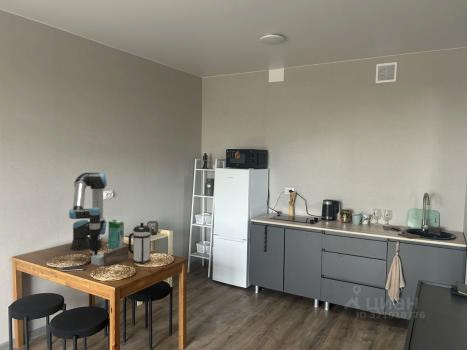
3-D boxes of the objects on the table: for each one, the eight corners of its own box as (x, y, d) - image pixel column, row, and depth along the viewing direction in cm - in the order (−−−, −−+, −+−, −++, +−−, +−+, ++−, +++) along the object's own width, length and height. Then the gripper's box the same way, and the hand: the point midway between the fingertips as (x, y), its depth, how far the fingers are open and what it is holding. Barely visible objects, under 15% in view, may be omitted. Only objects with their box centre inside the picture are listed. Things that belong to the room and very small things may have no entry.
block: (91, 264, 258) (91, 256, 257) (101, 260, 267) (101, 252, 266) (99, 266, 254) (99, 257, 254) (109, 262, 263) (109, 254, 263)
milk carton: (118, 251, 291) (118, 221, 289) (108, 250, 293) (108, 221, 291) (123, 248, 300) (123, 219, 298) (114, 247, 302) (114, 219, 300)
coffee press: (151, 257, 276) (151, 220, 274) (152, 264, 261) (152, 224, 259) (128, 258, 272) (128, 220, 270) (127, 265, 256) (128, 224, 255)
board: (103, 266, 254) (103, 252, 253) (124, 258, 274) (124, 245, 273) (107, 266, 252) (107, 253, 251) (128, 258, 272) (128, 246, 271)
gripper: (84, 228, 261) (84, 259, 262) (97, 230, 256) (97, 262, 257) (92, 226, 268) (92, 257, 269) (105, 228, 263) (105, 259, 264)
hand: (94, 259), depth 263 cm, fingers closed
